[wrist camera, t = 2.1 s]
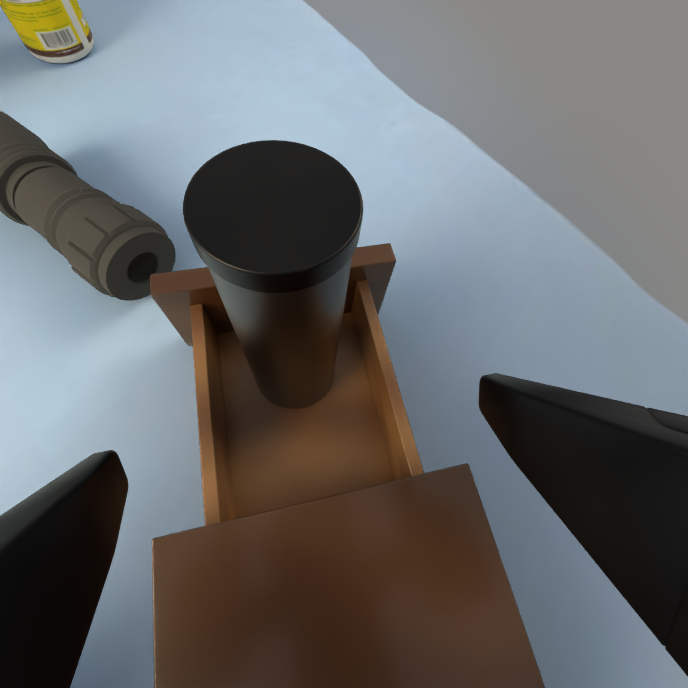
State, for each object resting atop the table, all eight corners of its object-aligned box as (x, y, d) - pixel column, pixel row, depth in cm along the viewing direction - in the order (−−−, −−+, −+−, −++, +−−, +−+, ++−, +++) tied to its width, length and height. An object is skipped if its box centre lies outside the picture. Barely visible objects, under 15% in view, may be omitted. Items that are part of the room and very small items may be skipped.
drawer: (435, 509, 20) (481, 508, 14) (201, 570, 18) (155, 593, 12) (371, 291, 25) (387, 232, 20) (186, 319, 23) (149, 261, 18)
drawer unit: (517, 796, 16) (642, 967, 10) (226, 915, 14) (161, 1218, 8) (424, 477, 21) (468, 462, 15) (201, 530, 19) (150, 538, 13)
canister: (343, 402, 21) (383, 260, 9) (259, 418, 20) (186, 286, 8) (326, 329, 22) (342, 133, 11) (249, 341, 22) (177, 146, 10)
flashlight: (194, 267, 25) (166, 208, 20) (130, 322, 23) (82, 272, 18) (45, 160, 28) (-12, 85, 23) (-24, 201, 26) (-102, 129, 21)
